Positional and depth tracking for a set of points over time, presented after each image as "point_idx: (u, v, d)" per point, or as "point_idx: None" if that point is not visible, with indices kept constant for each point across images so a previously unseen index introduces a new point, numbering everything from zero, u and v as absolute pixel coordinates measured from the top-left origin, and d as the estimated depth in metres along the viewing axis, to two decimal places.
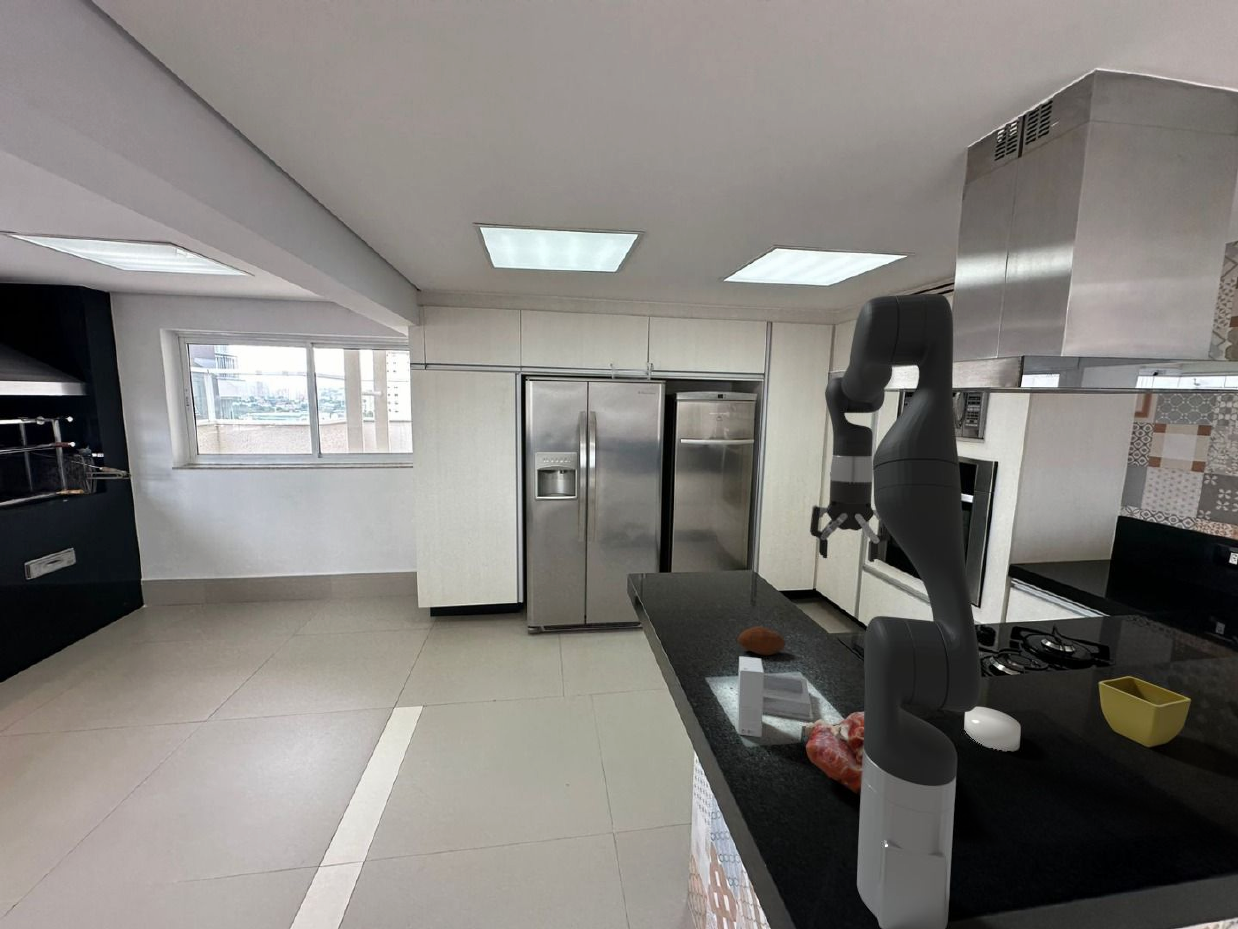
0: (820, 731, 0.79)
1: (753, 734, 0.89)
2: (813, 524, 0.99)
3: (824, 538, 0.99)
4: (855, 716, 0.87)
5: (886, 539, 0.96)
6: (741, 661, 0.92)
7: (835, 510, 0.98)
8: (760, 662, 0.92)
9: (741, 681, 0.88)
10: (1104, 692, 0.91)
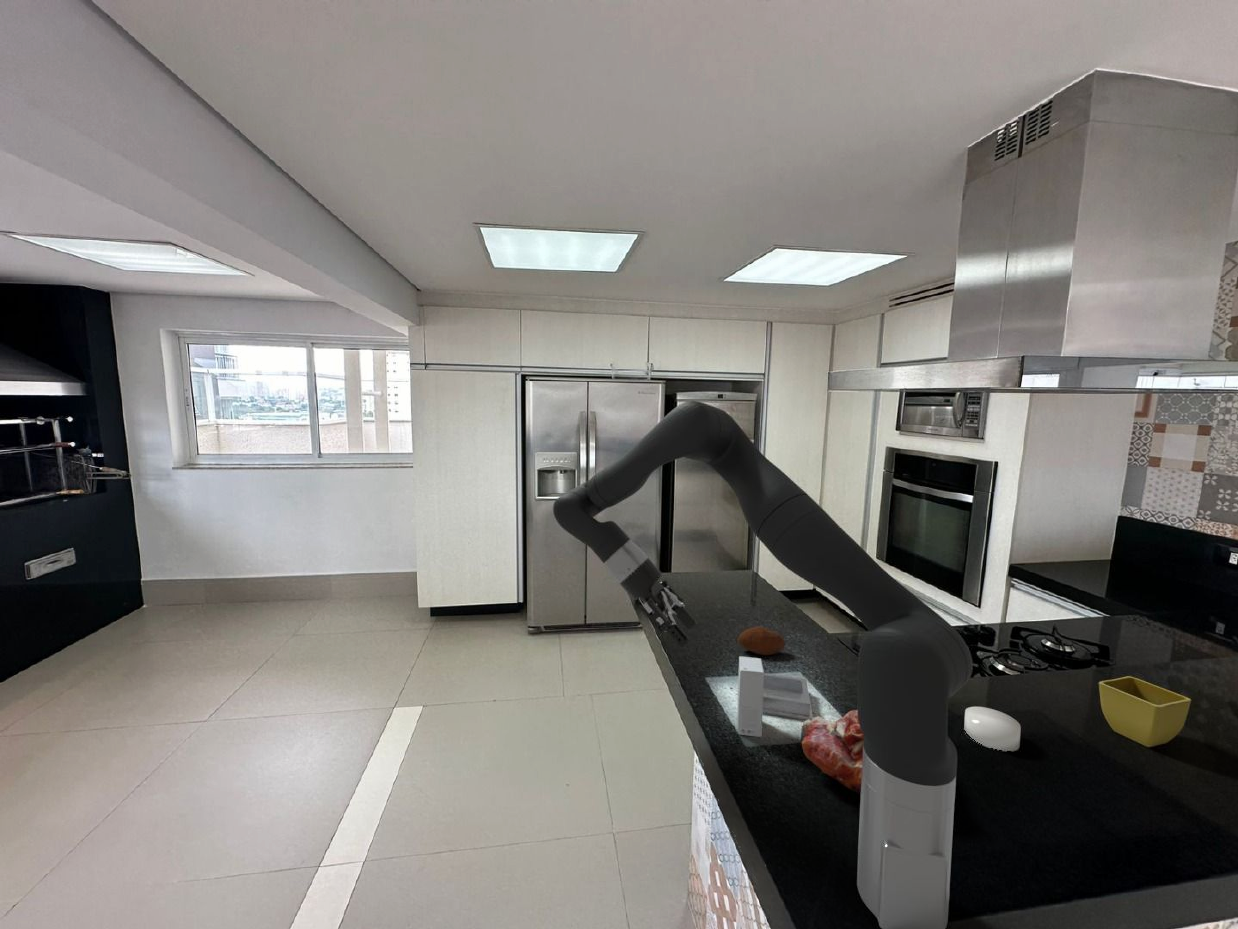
0: (816, 728, 0.80)
1: (753, 734, 0.89)
2: (662, 615, 0.88)
3: (674, 622, 0.90)
4: (852, 714, 0.88)
5: (683, 600, 1.01)
6: (741, 661, 0.92)
7: (655, 595, 0.93)
8: (760, 662, 0.92)
9: (741, 681, 0.88)
10: (1104, 692, 0.91)
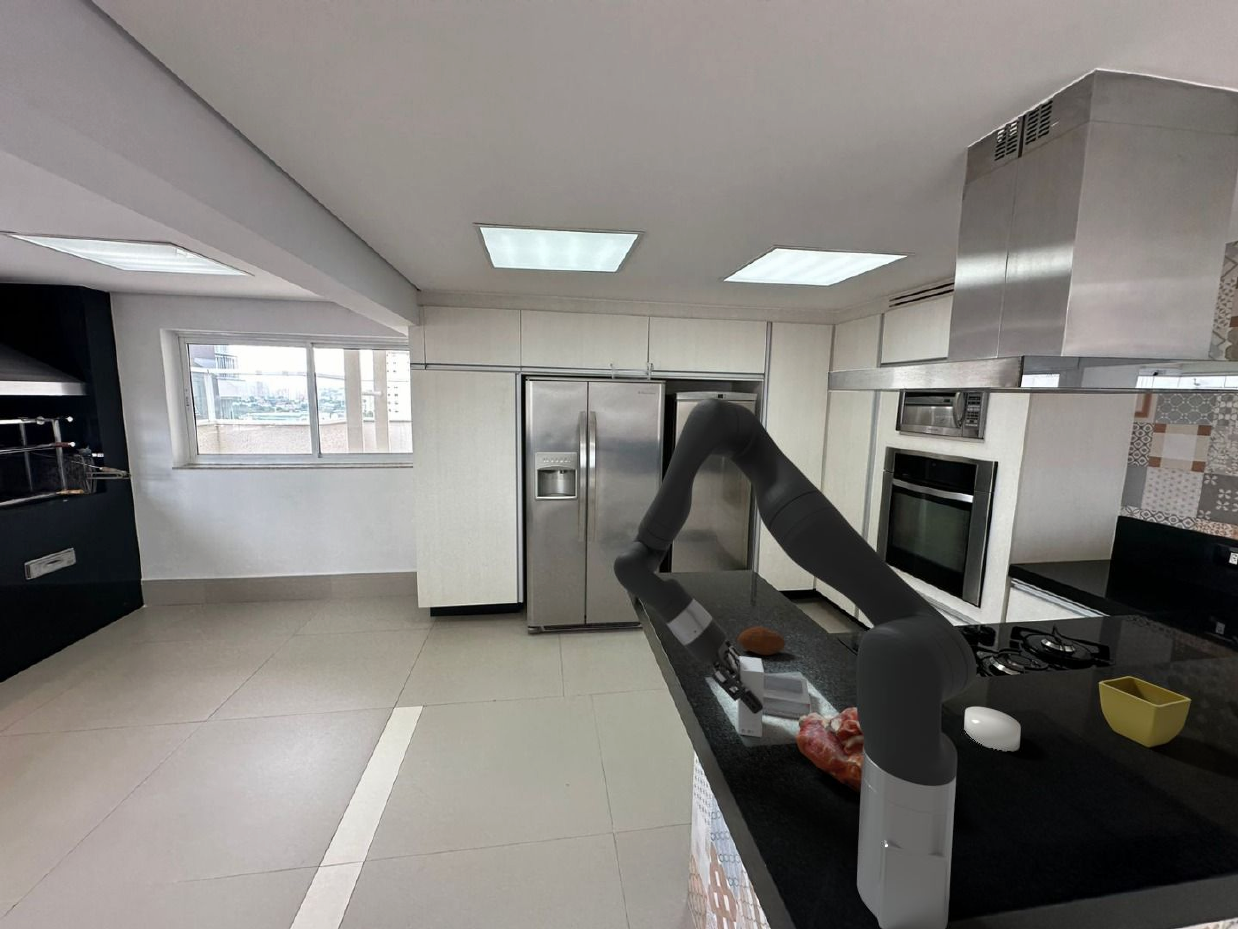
0: (810, 723, 0.81)
1: (753, 734, 0.89)
2: (736, 683, 0.86)
3: (748, 689, 0.88)
4: (849, 711, 0.89)
5: None
6: (741, 661, 0.92)
7: (722, 658, 0.89)
8: (760, 662, 0.92)
9: None
10: (1104, 692, 0.91)
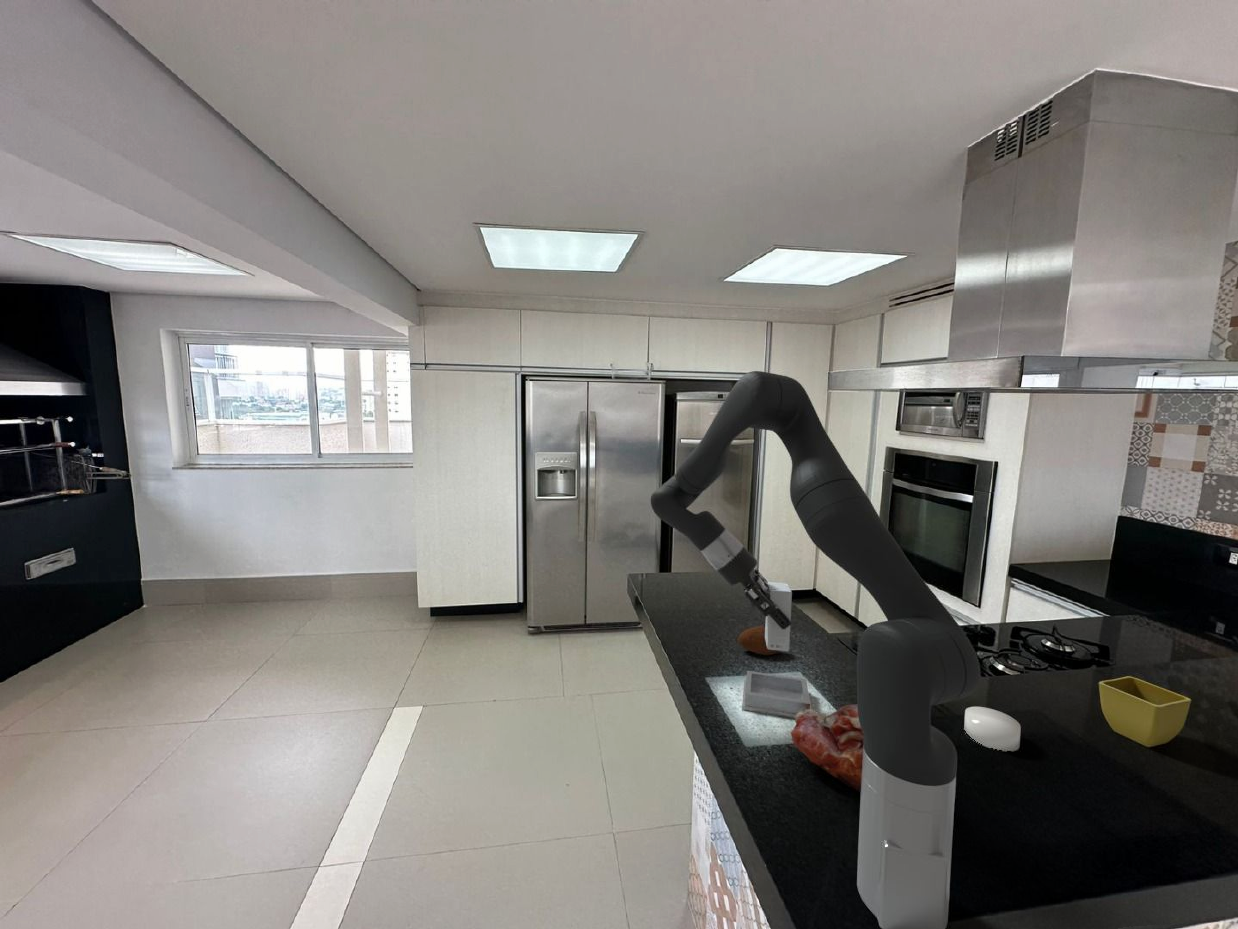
0: (805, 718, 0.82)
1: (781, 649, 0.97)
2: (767, 600, 0.94)
3: (777, 606, 0.96)
4: (846, 708, 0.90)
5: None
6: (770, 584, 1.00)
7: (753, 580, 0.98)
8: (787, 585, 1.00)
9: None
10: (1104, 692, 0.91)
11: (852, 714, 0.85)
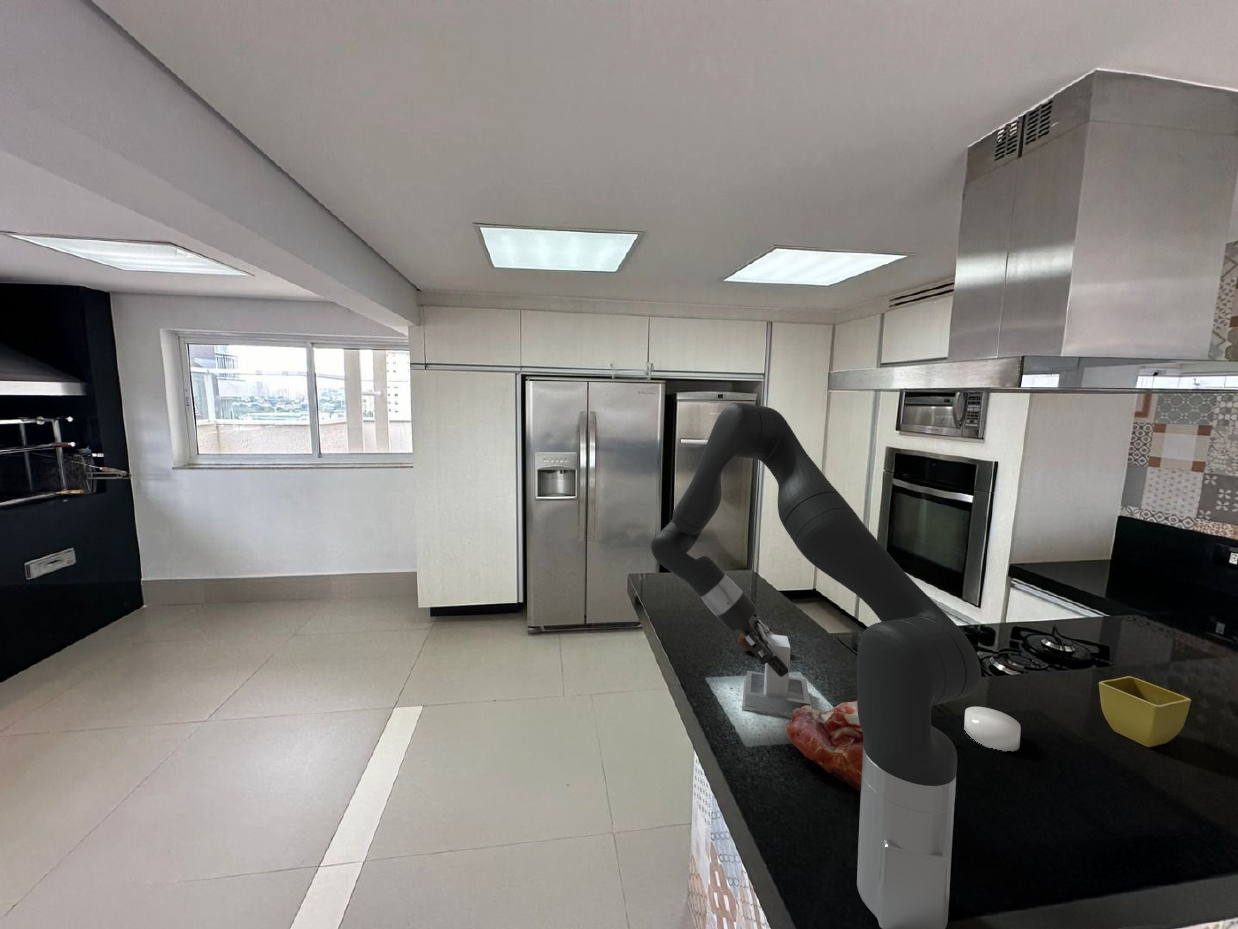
0: (800, 714, 0.83)
1: None
2: (764, 647, 0.94)
3: (774, 654, 0.96)
4: (843, 705, 0.91)
5: (771, 629, 1.07)
6: (769, 637, 1.01)
7: (753, 627, 0.98)
8: (786, 639, 1.01)
9: None
10: (1104, 692, 0.91)
11: (848, 711, 0.86)
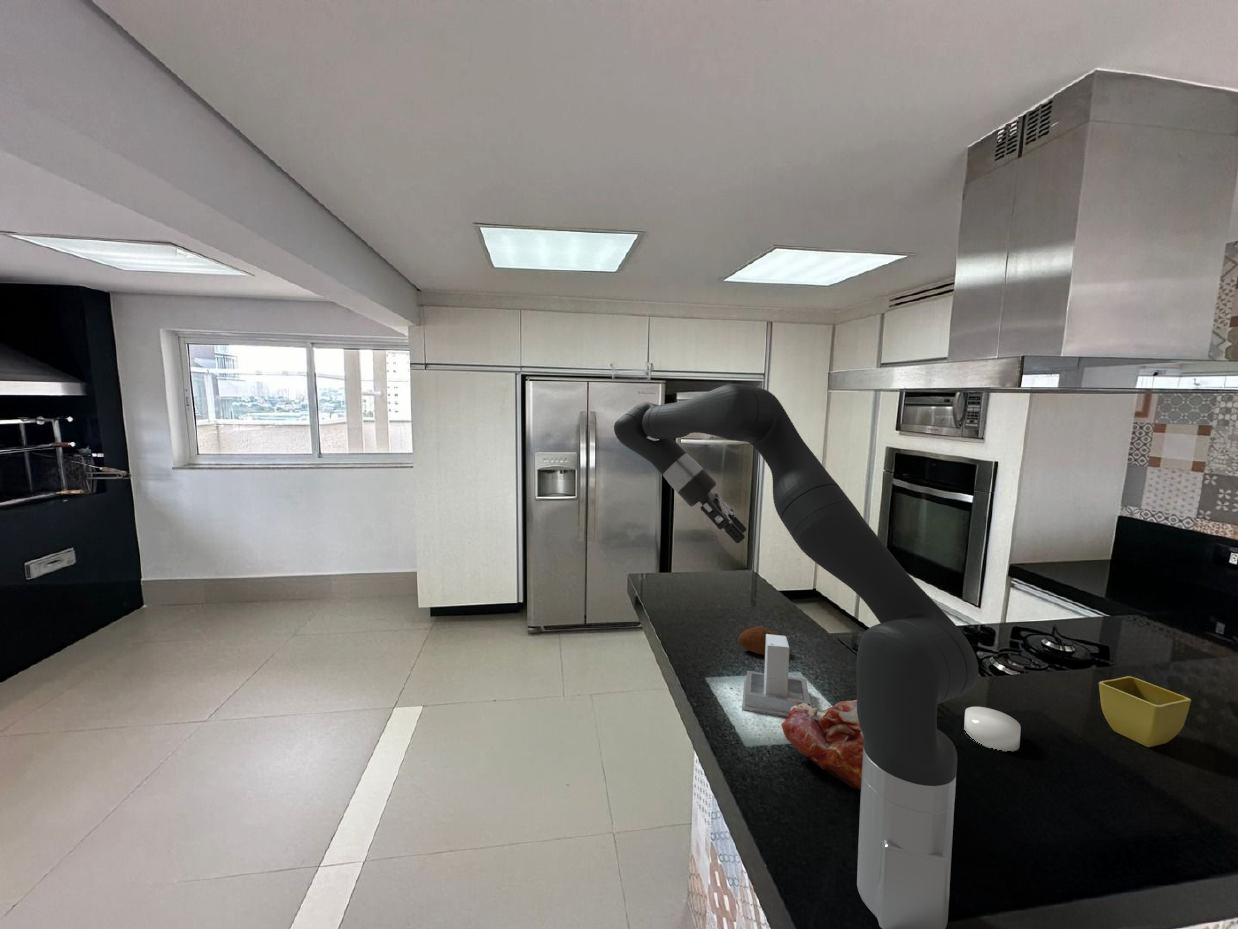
0: (796, 711, 0.84)
1: None
2: (721, 513, 0.98)
3: (731, 521, 1.00)
4: (841, 703, 0.91)
5: None
6: (768, 638, 1.01)
7: (712, 499, 1.02)
8: (785, 639, 1.01)
9: (768, 655, 0.98)
10: (1104, 692, 0.91)
11: (845, 709, 0.86)
